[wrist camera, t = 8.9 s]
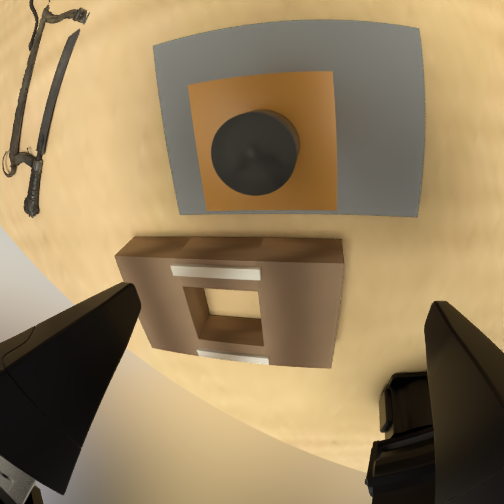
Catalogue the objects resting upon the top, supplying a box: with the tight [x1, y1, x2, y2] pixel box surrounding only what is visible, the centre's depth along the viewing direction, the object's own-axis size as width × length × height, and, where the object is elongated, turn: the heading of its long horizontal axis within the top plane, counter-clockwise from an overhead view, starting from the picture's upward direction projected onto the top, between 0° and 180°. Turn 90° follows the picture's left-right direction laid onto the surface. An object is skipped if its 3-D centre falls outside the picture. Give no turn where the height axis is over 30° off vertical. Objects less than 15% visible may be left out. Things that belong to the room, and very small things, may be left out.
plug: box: [188, 71, 337, 211], centre depth 11 cm, size 4×4×10 cm
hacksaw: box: [2, 0, 90, 218], centre depth 17 cm, size 24×10×2 cm, turn 150°
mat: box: [153, 20, 425, 217], centre depth 15 cm, size 16×12×1 cm
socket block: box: [115, 237, 344, 368], centre depth 22 cm, size 16×10×3 cm, turn 96°
